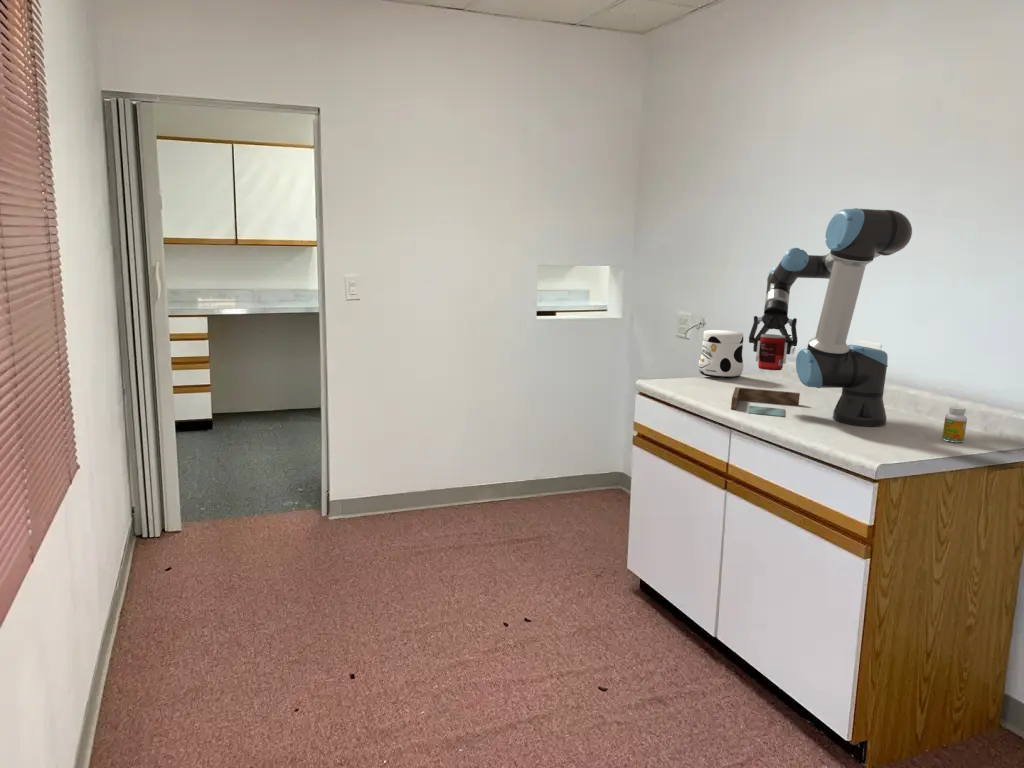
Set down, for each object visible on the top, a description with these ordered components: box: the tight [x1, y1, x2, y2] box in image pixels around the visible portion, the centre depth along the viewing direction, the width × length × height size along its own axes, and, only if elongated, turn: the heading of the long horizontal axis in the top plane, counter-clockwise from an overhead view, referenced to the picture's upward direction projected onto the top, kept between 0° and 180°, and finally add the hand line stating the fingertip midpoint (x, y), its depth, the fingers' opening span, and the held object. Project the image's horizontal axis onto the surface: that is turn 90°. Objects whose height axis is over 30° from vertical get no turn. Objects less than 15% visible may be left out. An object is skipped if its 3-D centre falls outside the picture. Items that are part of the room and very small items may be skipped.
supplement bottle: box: [941, 405, 968, 443], centre depth 216 cm, size 5×5×10 cm
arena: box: [730, 386, 801, 418], centre depth 251 cm, size 21×22×4 cm
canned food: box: [757, 333, 786, 371], centre depth 248 cm, size 8×8×11 cm
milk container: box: [698, 329, 744, 380], centre depth 304 cm, size 17×17×18 cm
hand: (770, 359), depth 245 cm, fingers closed on canned food, 8 cm apart
